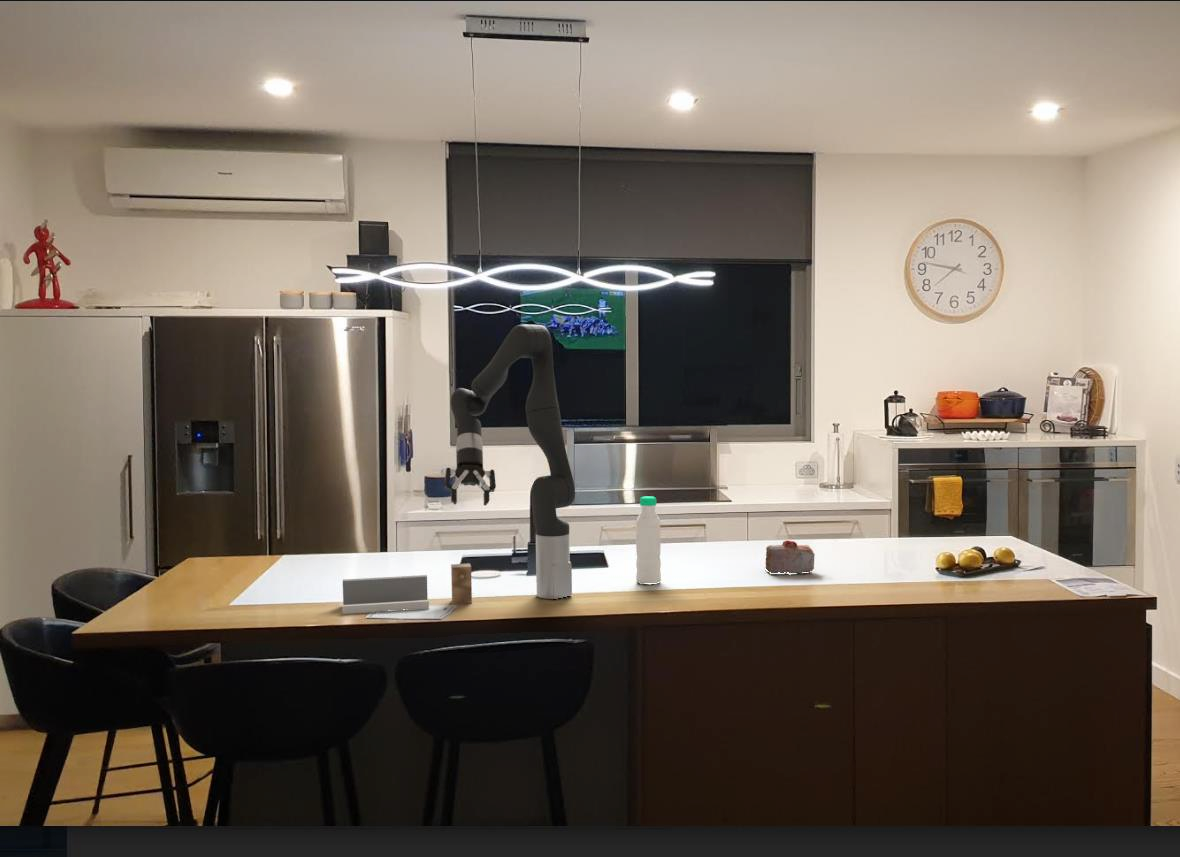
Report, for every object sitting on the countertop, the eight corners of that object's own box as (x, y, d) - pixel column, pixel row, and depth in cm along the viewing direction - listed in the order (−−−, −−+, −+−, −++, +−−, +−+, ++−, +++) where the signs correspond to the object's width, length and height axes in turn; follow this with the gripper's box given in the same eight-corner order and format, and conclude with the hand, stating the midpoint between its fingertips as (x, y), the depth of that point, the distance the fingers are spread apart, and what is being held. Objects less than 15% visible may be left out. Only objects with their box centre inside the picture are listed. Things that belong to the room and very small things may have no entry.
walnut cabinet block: (470, 599, 268) (469, 563, 268) (472, 604, 264) (471, 567, 263) (451, 600, 267) (451, 564, 267) (453, 605, 263) (452, 568, 262)
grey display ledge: (427, 600, 268) (426, 574, 268) (428, 608, 259) (428, 582, 259) (343, 605, 264) (342, 579, 263) (342, 614, 255) (341, 587, 254)
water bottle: (659, 579, 290) (659, 495, 288) (662, 585, 283) (661, 498, 281) (635, 580, 289) (634, 495, 287) (637, 585, 282) (636, 499, 280)
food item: (807, 569, 302) (807, 537, 301) (816, 575, 294) (816, 542, 293) (763, 571, 300) (763, 538, 300) (770, 576, 292) (771, 543, 292)
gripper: (446, 445, 280) (446, 497, 272) (496, 447, 283) (497, 499, 276) (443, 456, 286) (443, 508, 279) (492, 458, 290) (493, 510, 282)
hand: (470, 503), depth 277 cm, fingers open, 8 cm apart
